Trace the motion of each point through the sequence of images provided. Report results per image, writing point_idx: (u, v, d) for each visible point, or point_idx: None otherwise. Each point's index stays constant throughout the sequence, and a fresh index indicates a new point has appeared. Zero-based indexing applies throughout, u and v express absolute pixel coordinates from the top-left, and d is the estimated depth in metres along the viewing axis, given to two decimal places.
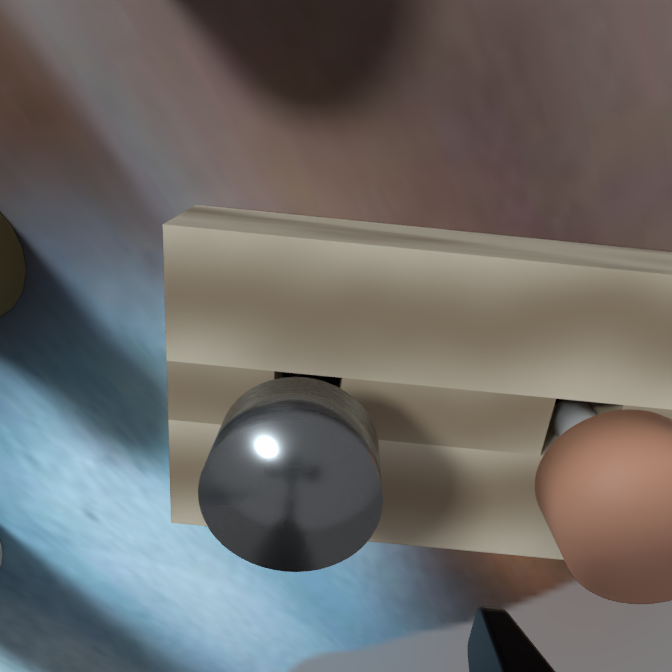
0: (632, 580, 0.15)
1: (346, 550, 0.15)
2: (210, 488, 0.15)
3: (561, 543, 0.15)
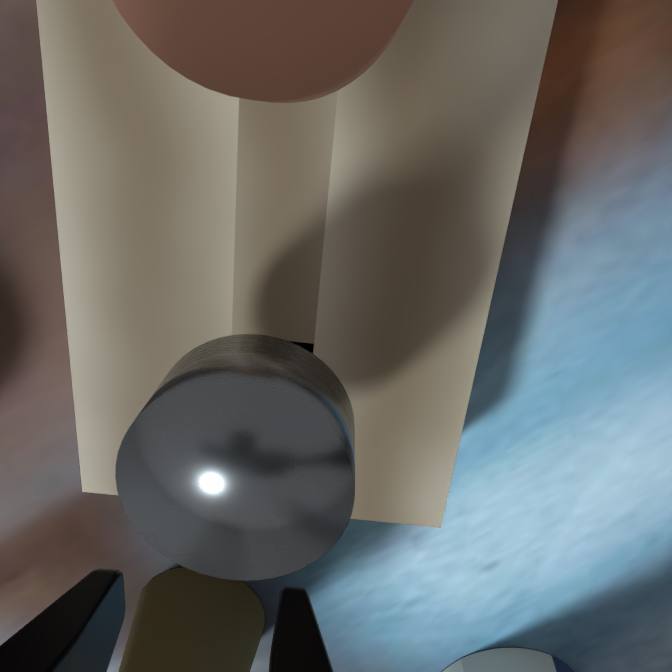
0: None
1: (316, 427, 0.11)
2: (224, 568, 0.12)
3: (292, 98, 0.09)
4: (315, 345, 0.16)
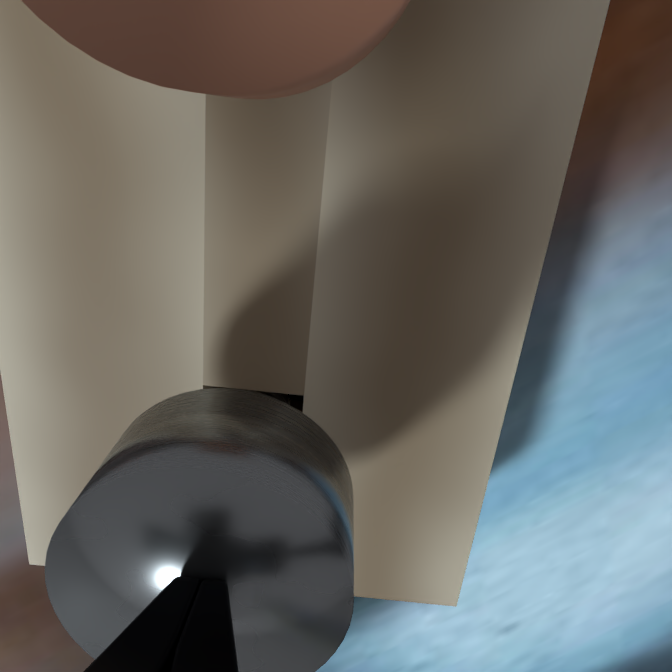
0: None
1: (302, 523, 0.08)
2: None
3: (257, 89, 0.06)
4: (305, 397, 0.13)
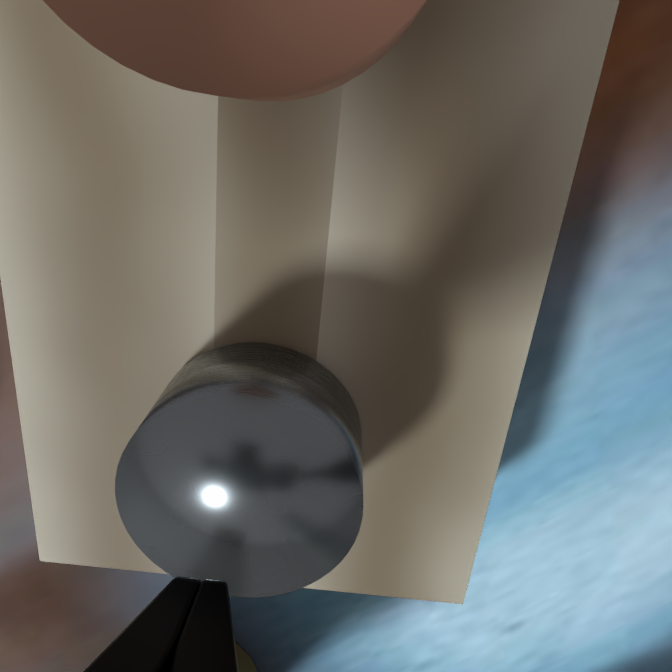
0: None
1: (323, 441, 0.10)
2: None
3: (277, 93, 0.06)
4: None
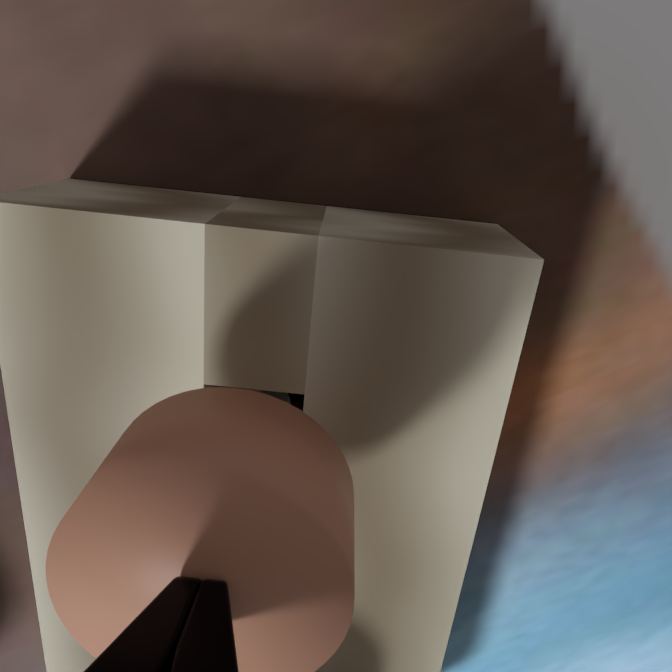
0: (300, 612, 0.09)
1: None
2: None
3: None
4: None
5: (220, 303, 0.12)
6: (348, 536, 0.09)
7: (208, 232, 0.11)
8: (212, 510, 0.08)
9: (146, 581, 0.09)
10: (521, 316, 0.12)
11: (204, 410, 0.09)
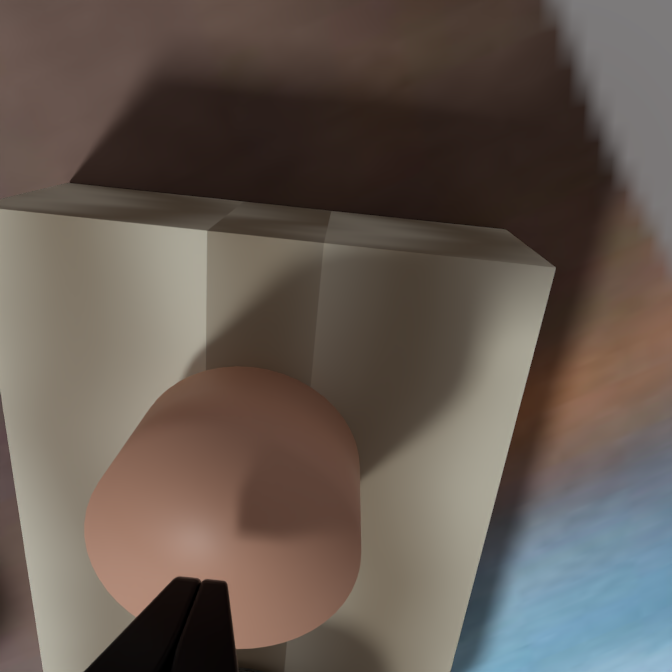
0: (312, 566, 0.10)
1: None
2: None
3: (253, 643, 0.11)
4: None
5: (223, 311, 0.12)
6: (355, 498, 0.10)
7: (210, 239, 0.11)
8: (234, 471, 0.09)
9: (175, 537, 0.10)
10: (532, 325, 0.12)
11: (225, 385, 0.10)
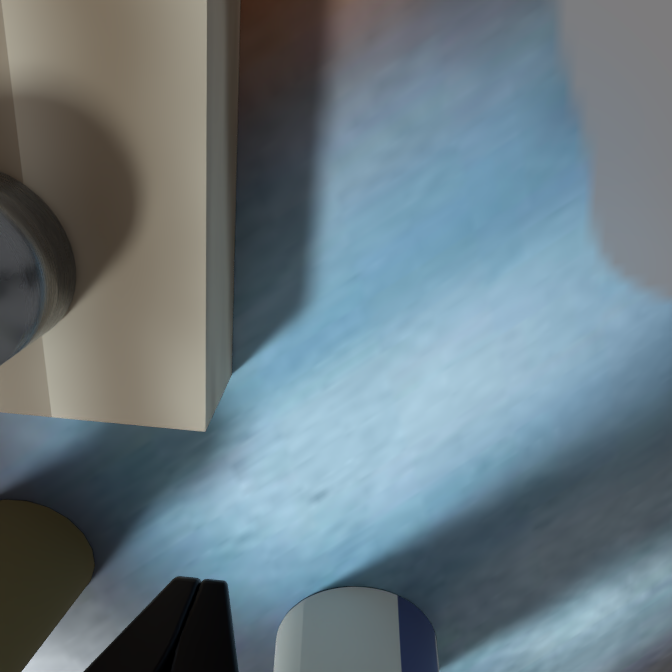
0: None
1: None
2: None
3: None
4: None
5: None
6: None
7: None
8: None
9: None
10: None
11: None
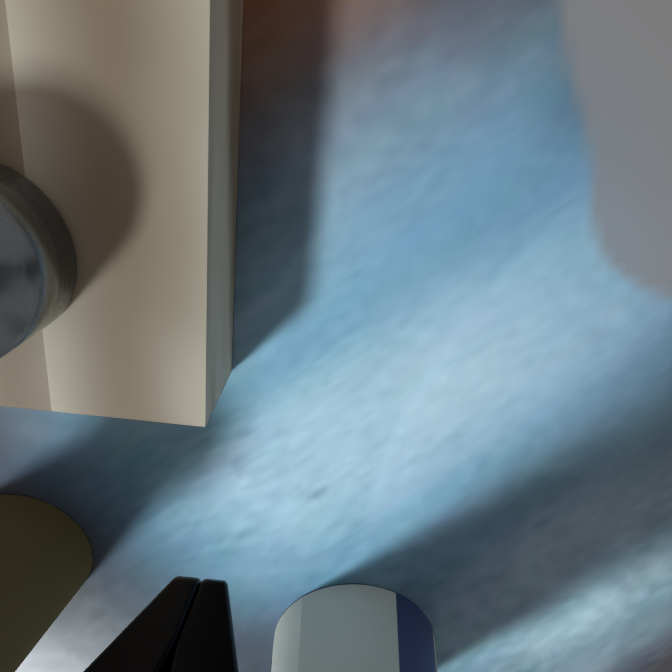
0: None
1: None
2: None
3: None
4: None
5: None
6: None
7: None
8: None
9: None
10: None
11: None
